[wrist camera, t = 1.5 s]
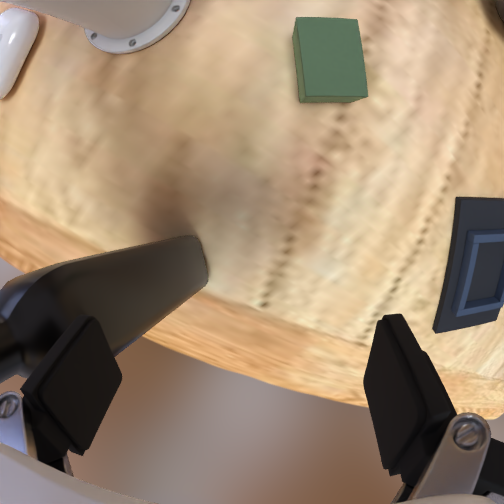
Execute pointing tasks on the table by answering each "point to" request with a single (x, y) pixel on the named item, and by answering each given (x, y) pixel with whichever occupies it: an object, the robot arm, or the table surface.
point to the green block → (329, 60)
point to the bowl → (500, 8)
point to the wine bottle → (96, 298)
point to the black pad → (473, 266)
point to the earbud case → (15, 44)
